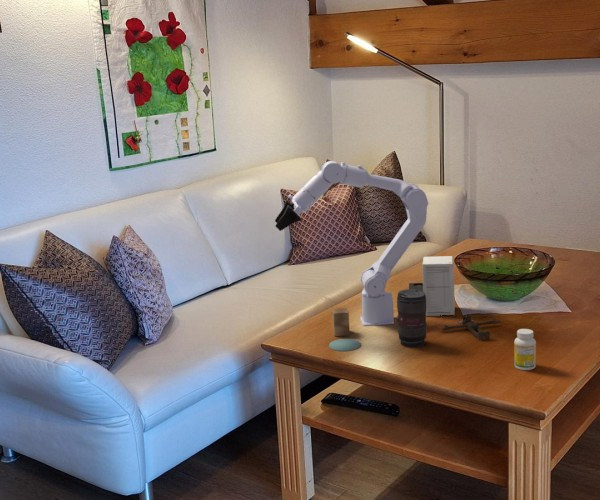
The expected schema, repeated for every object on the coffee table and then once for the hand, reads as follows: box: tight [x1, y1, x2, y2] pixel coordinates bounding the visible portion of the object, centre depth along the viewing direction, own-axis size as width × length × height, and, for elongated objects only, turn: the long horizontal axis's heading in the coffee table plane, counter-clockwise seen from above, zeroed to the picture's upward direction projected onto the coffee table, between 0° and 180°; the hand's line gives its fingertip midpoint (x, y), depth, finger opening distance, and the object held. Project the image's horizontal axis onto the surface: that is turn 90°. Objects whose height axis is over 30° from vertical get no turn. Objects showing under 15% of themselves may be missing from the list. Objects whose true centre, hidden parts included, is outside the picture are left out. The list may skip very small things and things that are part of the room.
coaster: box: [328, 338, 362, 352], centre depth 234 cm, size 9×9×1 cm
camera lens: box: [396, 288, 427, 348], centre depth 231 cm, size 8×8×15 cm
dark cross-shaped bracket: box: [441, 313, 500, 341], centre depth 239 cm, size 18×4×14 cm
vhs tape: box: [408, 282, 423, 291], centre depth 277 cm, size 14×8×2 cm, turn 172°
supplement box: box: [421, 255, 456, 317], centre depth 256 cm, size 10×9×17 cm
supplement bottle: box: [513, 328, 537, 371], centre depth 211 cm, size 5×5×10 cm
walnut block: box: [331, 307, 351, 337], centre depth 243 cm, size 4×4×7 cm
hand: (277, 225), depth 244 cm, fingers open, 7 cm apart
